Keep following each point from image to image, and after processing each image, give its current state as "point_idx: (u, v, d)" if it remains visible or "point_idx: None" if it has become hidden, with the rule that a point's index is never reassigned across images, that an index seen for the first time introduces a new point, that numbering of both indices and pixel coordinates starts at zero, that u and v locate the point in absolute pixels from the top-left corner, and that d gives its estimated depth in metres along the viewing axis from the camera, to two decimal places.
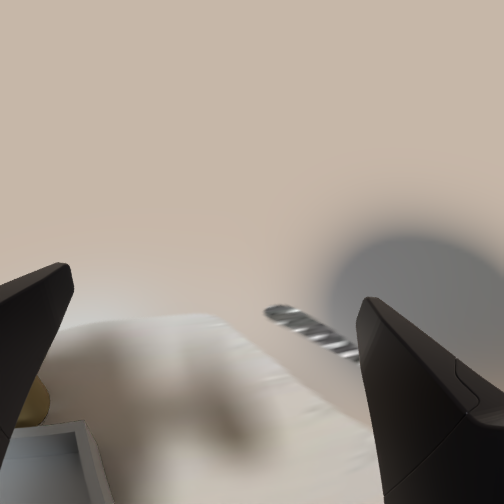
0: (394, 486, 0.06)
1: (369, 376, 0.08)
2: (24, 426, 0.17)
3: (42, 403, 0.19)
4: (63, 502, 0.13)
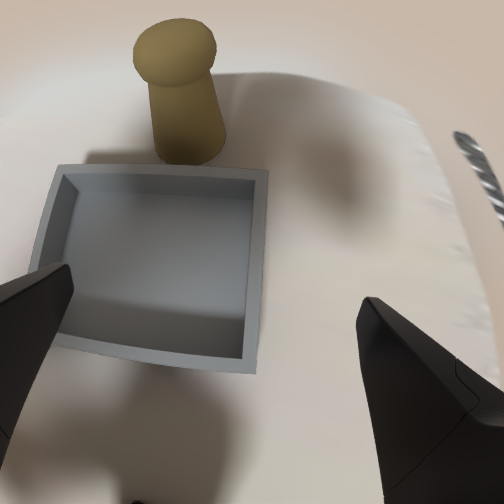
0: (393, 486, 0.06)
1: (369, 376, 0.08)
2: (190, 161, 0.24)
3: (218, 141, 0.24)
4: (209, 248, 0.22)
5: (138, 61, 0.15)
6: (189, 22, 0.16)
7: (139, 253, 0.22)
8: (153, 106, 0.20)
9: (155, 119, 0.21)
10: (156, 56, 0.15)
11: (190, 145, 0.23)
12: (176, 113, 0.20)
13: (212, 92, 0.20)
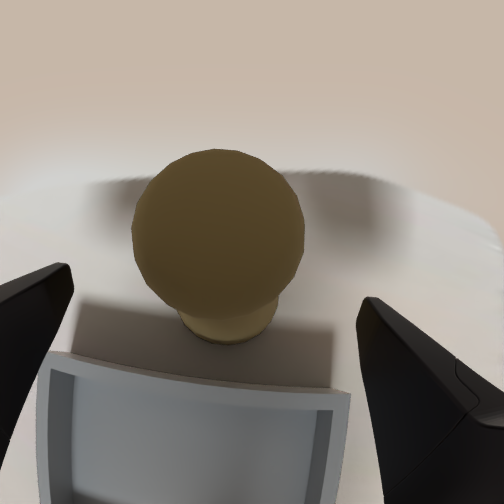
0: (394, 487, 0.06)
1: (369, 376, 0.08)
2: (231, 342, 0.17)
3: (272, 314, 0.17)
4: (262, 464, 0.15)
5: (147, 280, 0.09)
6: (253, 178, 0.09)
7: (172, 466, 0.15)
8: None
9: None
10: (189, 292, 0.08)
11: (235, 336, 0.16)
12: (220, 321, 0.13)
13: None
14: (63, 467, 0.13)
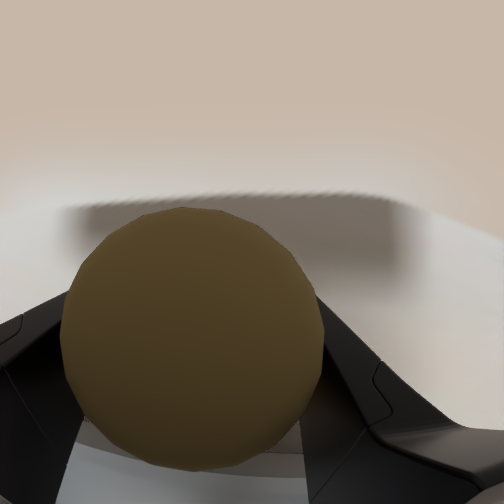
0: (315, 495, 0.05)
1: None
2: None
3: None
4: None
5: (88, 418, 0.05)
6: (240, 275, 0.05)
7: None
8: None
9: None
10: (143, 455, 0.04)
11: None
12: None
13: None
14: None
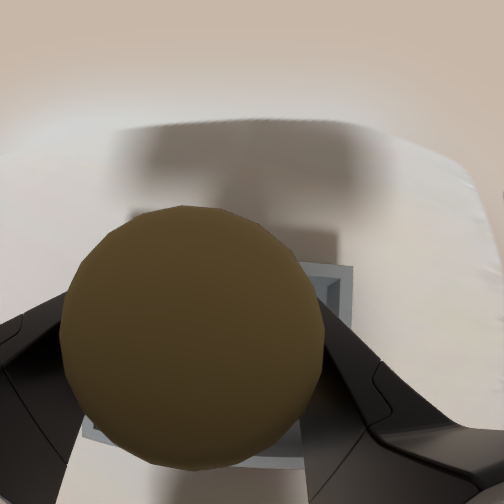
0: (315, 495, 0.05)
1: None
2: None
3: None
4: None
5: (88, 417, 0.05)
6: (240, 273, 0.05)
7: None
8: None
9: None
10: (143, 454, 0.04)
11: None
12: None
13: None
14: None
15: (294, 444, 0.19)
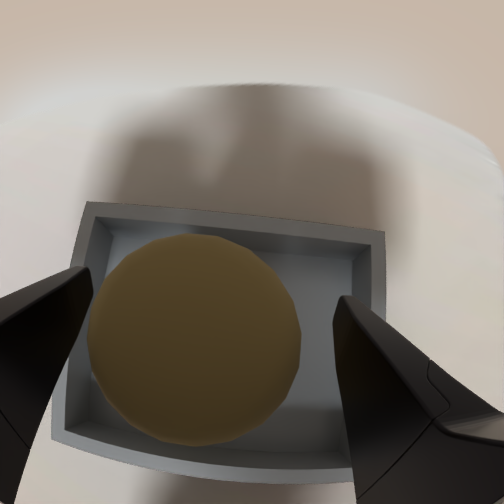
0: (365, 491, 0.05)
1: (343, 376, 0.08)
2: None
3: None
4: (303, 325, 0.17)
5: (110, 404, 0.06)
6: (232, 289, 0.06)
7: None
8: None
9: None
10: (156, 431, 0.06)
11: None
12: None
13: None
14: (86, 341, 0.15)
15: (314, 453, 0.15)
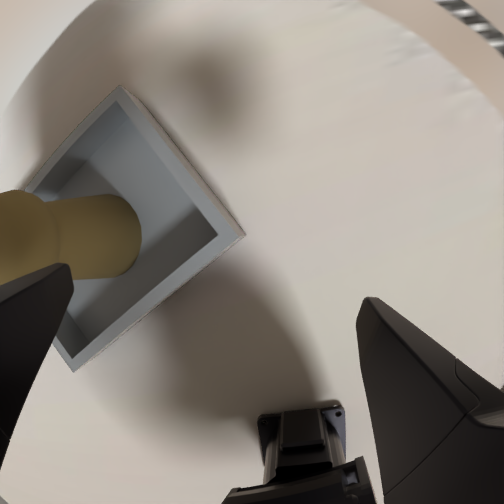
0: (394, 487, 0.06)
1: (369, 376, 0.08)
2: (129, 263, 0.21)
3: (132, 224, 0.20)
4: (134, 176, 0.21)
5: None
6: None
7: None
8: None
9: None
10: None
11: (116, 262, 0.19)
12: (78, 270, 0.16)
13: (82, 217, 0.16)
14: None
15: None
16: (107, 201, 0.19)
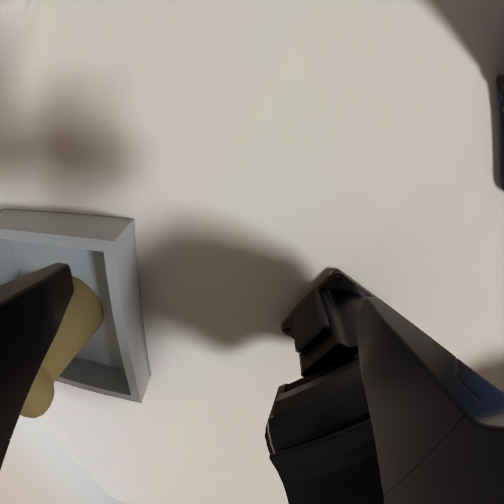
0: (394, 486, 0.06)
1: (369, 376, 0.08)
2: (97, 307, 0.23)
3: None
4: (46, 255, 0.22)
5: (43, 413, 0.16)
6: None
7: None
8: (64, 368, 0.20)
9: None
10: (36, 409, 0.15)
11: (85, 319, 0.22)
12: (65, 353, 0.19)
13: None
14: (91, 370, 0.26)
15: None
16: None
